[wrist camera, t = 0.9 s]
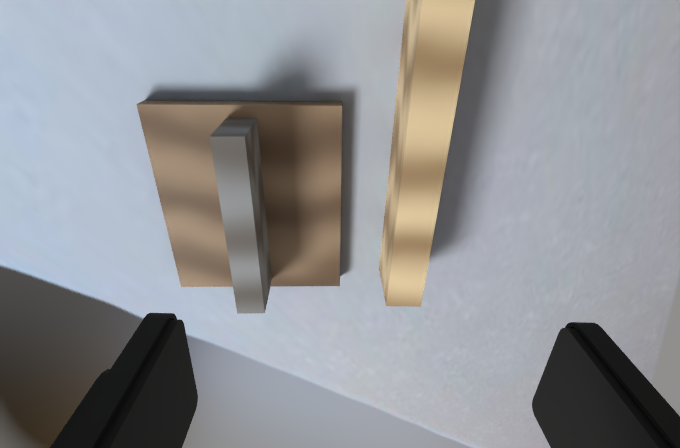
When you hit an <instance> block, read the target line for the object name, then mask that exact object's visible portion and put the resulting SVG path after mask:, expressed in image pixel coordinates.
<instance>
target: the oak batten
mask: <svg viewBox="0 0 680 448" xmlns="http://www.w3.org/2000/svg"><path fill="white" fill-rule="evenodd" d="M474 4H475V0H406V7H405V17H404V27H403V37H402V47H401V57H400V66H399V76H398V86H397V96H396V106H395V116H394V126H393V136H392V146H391V156H390V166H389V176H388V186H387V196H386V206H385V216H384V226H383V236H382V246H381V256H380V266H379V270H380V275H381V281H382V286H383V292H384V297H385V302H386V306H421V303H422V297H423V292H424V286H425V280H426V275H427V269H428V263H429V258H430V252H431V246H432V241H433V235H434V229H435V224H436V218H437V213H438V207H439V201H440V196H441V190H442V184H443V179H444V173H445V167H446V162H447V156H448V150H449V145H450V139H451V134H452V128H453V122H454V117H455V111H456V105H457V100H458V94H459V88H460V83H461V77H462V71H463V66H464V60H465V55H466V49H467V43H468V38H469V32H470V26H471V21H472V15H473V9H474Z"/></svg>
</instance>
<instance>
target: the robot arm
mask: <svg viewBox="0 0 680 448" xmlns="http://www.w3.org/2000/svg"><path fill="white" fill-rule="evenodd" d="M197 399H198V395H197V389H196V384H195V379H194V374H193V368H192V363H191V358H190V353H189V348H188V343H187V338H186V333H185V327H184V323H183V321H182V320H177V318H176V316H175V314H172V313H149V314H147V315H146V317H145V318H144V319H143V321H142V322H141V324H140V325H139V327H138V328H137V330H136V331H135V333H134V334H133V336H132V338H131V339H130V340H129V342H128V343H127V345H126V347H125V348H124V350H123V351H122V353H121V354H120V356H119V357H118V359H117V360H116V362H115V363H114V365H113V366H112V368H111V369H107V370H106V371H104V372H103V373H101V375H100V376H99V377H98V378H97V379H96V381H95V382H94V384H93V385H92V387H91V388H90V390H89V391H88V393H87V394H86V396H85V397H84V399H83V400H82V401H81V403H80V405H79V406H78V407H77V409H76V410H75V412H74V414H73V415H72V416H71V418H70V419H69V421H68V422H67V424H66V425H65V426H64V428H63V429H62V431H61V432H60V434H59V435H58V437H57V438H56V440H55V441H54V443H53V444H52V446H51V447H50V448H182V445H183V443H184V440H185V438H186V435H187V432H188V429H189V427H190V424H191V421H192V418H193V416H194V413H195V410H196V407H197ZM532 408H533V412H534V415H535V417H536V419H537V421H538V423H539V425H540V427H541V429H542V431H543V433H544V435H545V437H546V439H547V441H548V443H549V445H550V447H551V448H680V416H679V415H678V414H677V413H676V412H675V411H674V409H673V408H672V407H671V406H670V405H669V404H668V403H667V401H666V400H665V399H664V398H663V397H662V396H661V395H660V394H659V392H658V391H657V390H656V389H655V388H654V387H653V386H652V384H651V383H650V382H649V381H648V380H647V379H646V378H645V377H644V375H643V374H642V373H641V372H640V371H639V370H638V369H637V367H636V366H635V365H634V364H633V363H632V362H631V361H630V360H629V358H628V357H627V356H626V355H625V354H624V353H623V352H622V350H621V349H620V348H619V347H618V346H617V345H616V344H615V343H614V341H613V340H612V339H611V338H610V337H609V336H608V335H607V333H606V332H605V331H604V330H603V329H602V328H601V327H600V326H599V325H598V324H595V323H578V322H572V323H568V324H567V325H566V327H565V328H562V329H561V330H560V332H559V334H558V336H557V339H556V342H555V344H554V347H553V349H552V352H551V354H550V357H549V359H548V362H547V365H546V367H545V370H544V372H543V375H542V377H541V380H540V383H539V385H538V388H537V390H536V393H535V395H534V398H533V401H532Z"/></svg>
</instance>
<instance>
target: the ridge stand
mask: <svg viewBox="0 0 680 448" xmlns="http://www.w3.org/2000/svg"><path fill="white" fill-rule="evenodd" d="M137 108H138V112H139V116H140V120H141V124H142V128H143V132H144V136H145V140H146V145H147V149H148V153H149V157H150V161H151V165H152V169H153V173H154V177H155V181H156V185H157V189H158V194H159V198H160V202H161V206H162V210H163V214H164V218H165V222H166V226H167V230H168V234H169V239H170V243H171V247H172V251H173V255H174V259H175V263H176V267H177V271H178V275H179V279H180V284H181V287H232V286H233V288H234V294H235V301H236V307H237V313H265V309H266V304H267V300H268V295H269V290H270V286H340V228H341V160H342V102H316V101H179V100H144V101H142V102H140V103H138V104H137Z"/></svg>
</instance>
